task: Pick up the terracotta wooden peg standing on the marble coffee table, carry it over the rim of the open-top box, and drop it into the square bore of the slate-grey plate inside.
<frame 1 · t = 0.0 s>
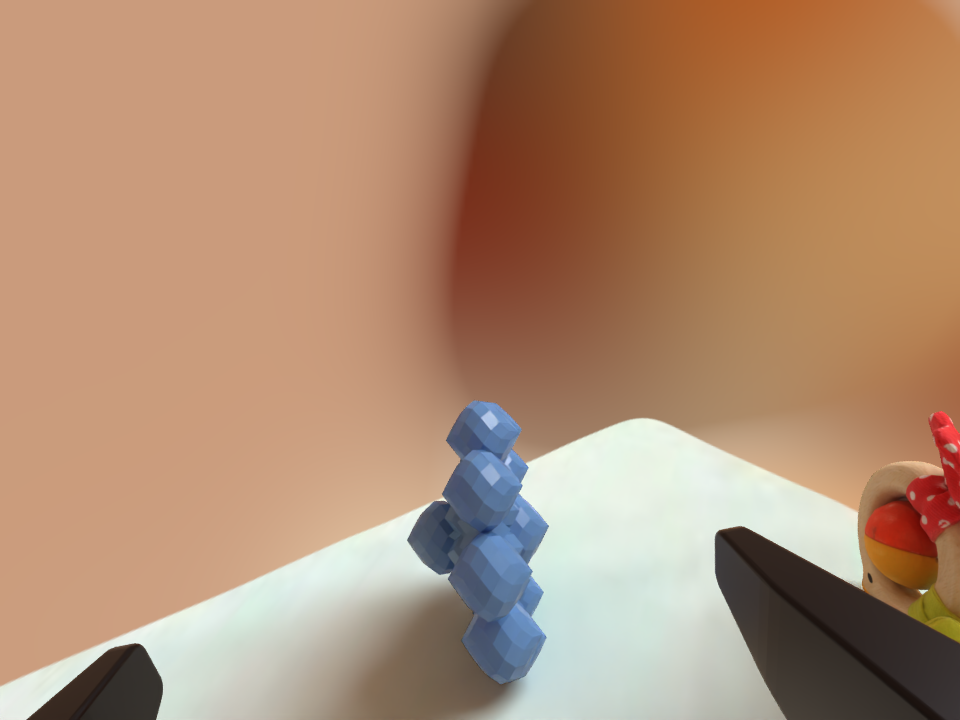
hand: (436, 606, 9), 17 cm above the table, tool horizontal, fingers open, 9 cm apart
grapes: (497, 627, 28), on the table
bird rattle: (916, 642, 24), on the table
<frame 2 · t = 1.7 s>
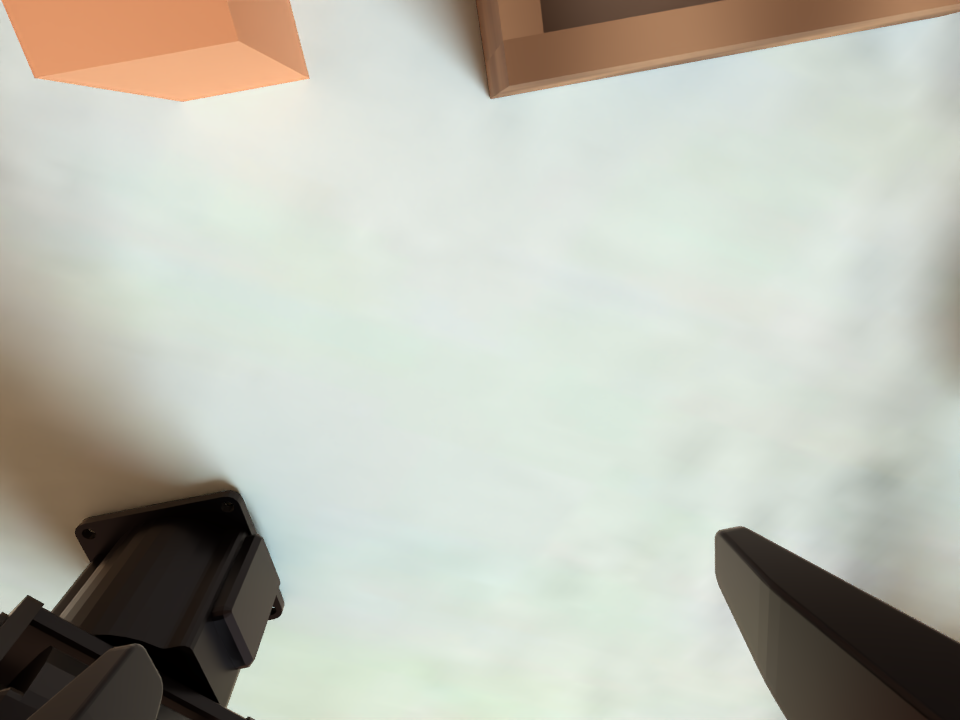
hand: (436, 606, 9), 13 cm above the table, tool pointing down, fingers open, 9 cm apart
peg: (224, 16, 17), on the table
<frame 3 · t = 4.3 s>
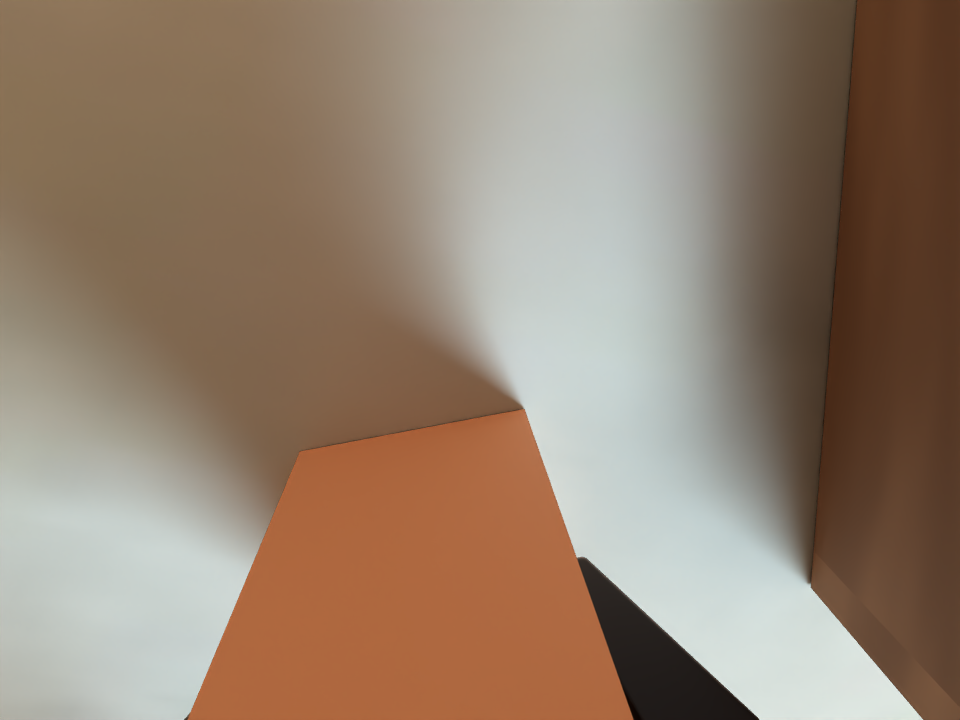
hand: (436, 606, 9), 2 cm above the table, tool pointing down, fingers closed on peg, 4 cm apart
peg: (434, 521, 10), on the table, touching gripper
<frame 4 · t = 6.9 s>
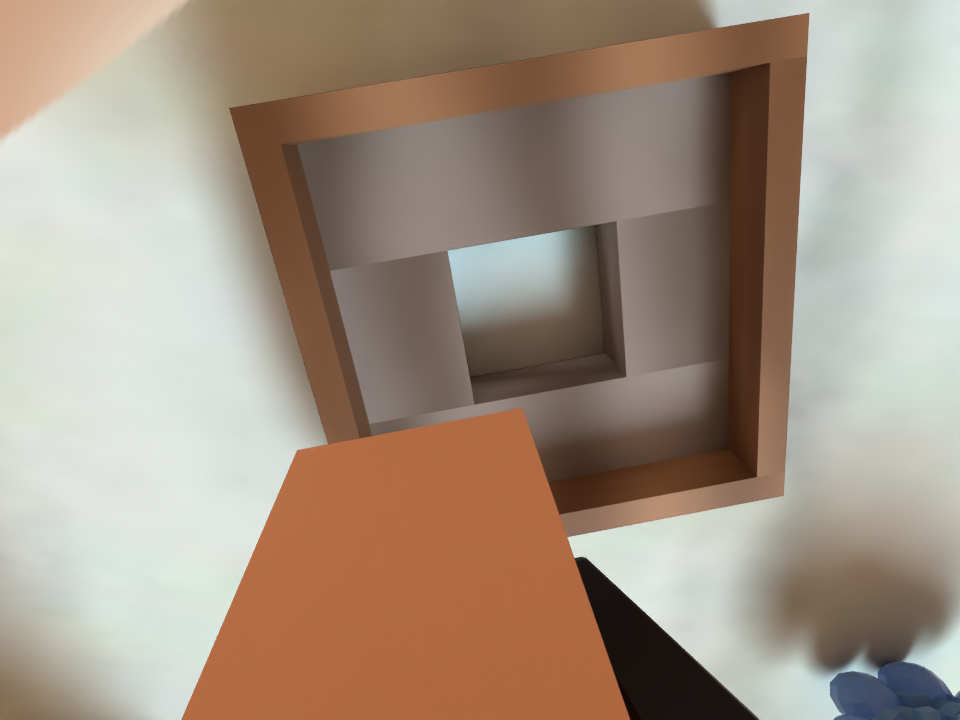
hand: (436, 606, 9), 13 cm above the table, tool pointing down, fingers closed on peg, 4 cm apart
grapes: (887, 650, 30), on the table
socket box: (529, 298, 21), on the table
peg: (432, 520, 10), point 11 cm above the table, touching gripper
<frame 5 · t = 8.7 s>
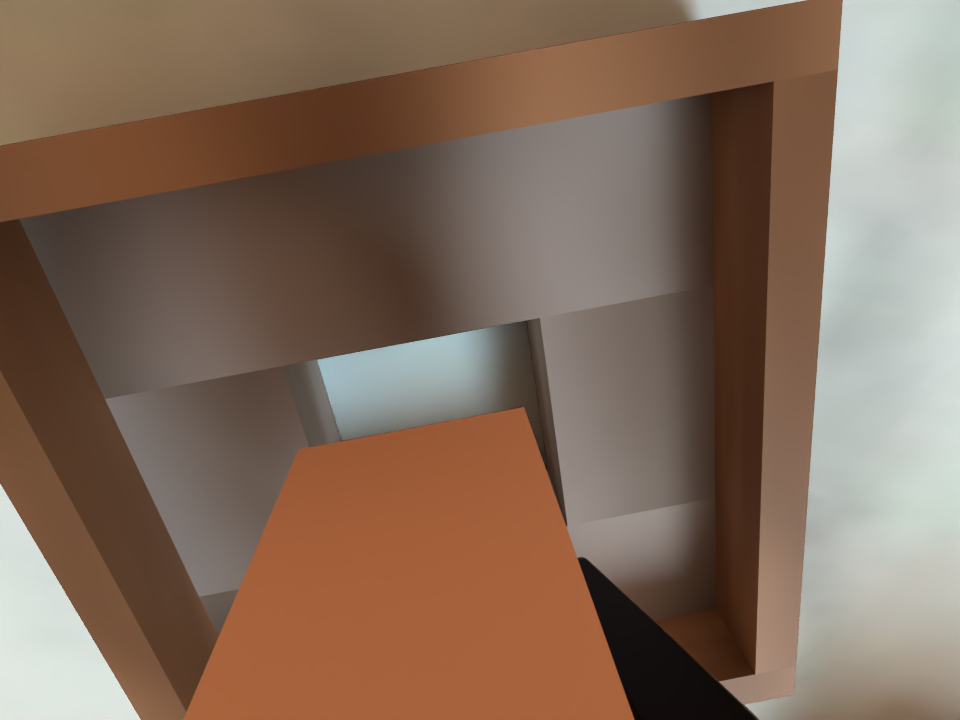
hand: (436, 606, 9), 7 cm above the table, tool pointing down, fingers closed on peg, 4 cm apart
socket box: (436, 404, 15), on the table
peg: (434, 520, 10), point 5 cm above the table, touching gripper
when the fingers open (4 cm above the table, at t = 9.8 s): peg drops 2 cm, resting in socket box.
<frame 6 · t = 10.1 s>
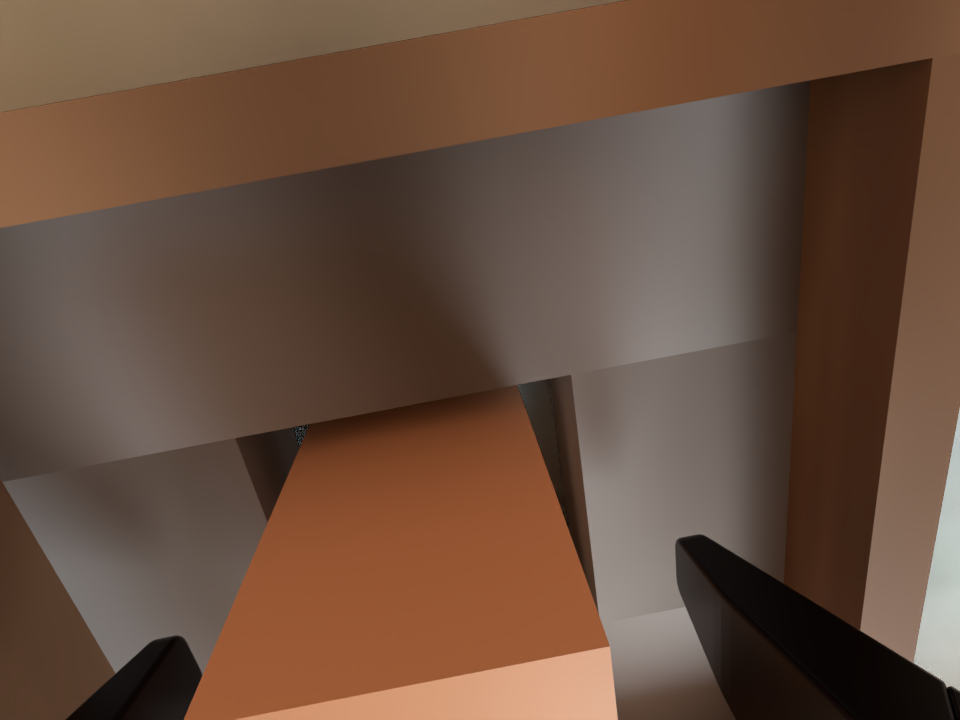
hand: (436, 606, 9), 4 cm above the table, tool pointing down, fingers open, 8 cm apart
socket box: (435, 465, 12), on the table
peg: (434, 461, 12), resting in socket box
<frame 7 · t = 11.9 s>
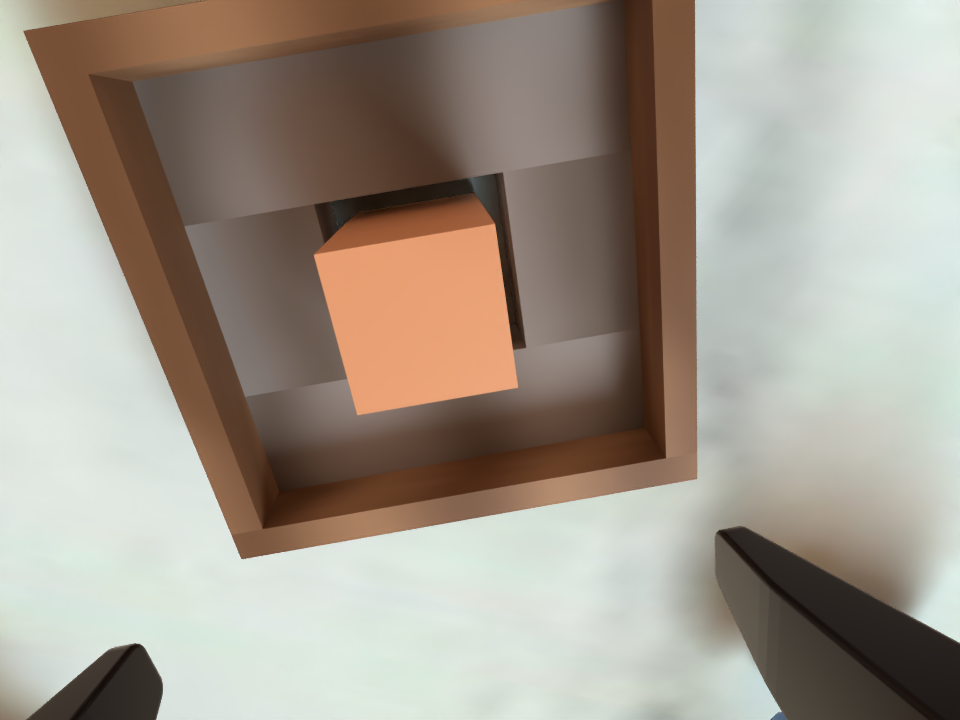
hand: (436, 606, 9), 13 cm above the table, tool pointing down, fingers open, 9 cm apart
socket box: (427, 263, 19), on the table
peg: (426, 261, 19), resting in socket box
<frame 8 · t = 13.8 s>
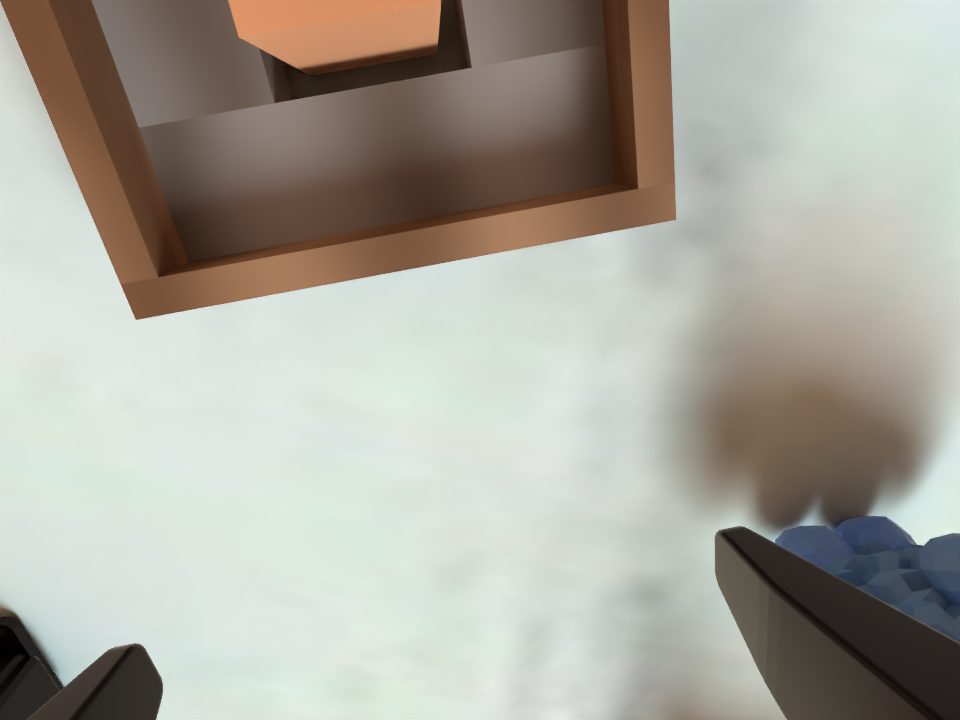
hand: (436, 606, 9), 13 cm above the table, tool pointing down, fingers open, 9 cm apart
grapes: (846, 506, 26), on the table
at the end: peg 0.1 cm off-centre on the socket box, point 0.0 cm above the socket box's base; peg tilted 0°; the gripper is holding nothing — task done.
